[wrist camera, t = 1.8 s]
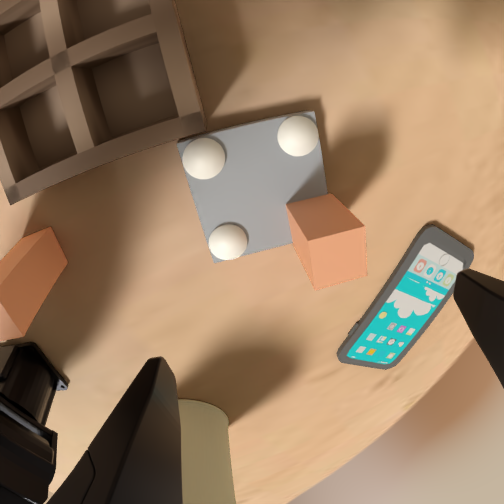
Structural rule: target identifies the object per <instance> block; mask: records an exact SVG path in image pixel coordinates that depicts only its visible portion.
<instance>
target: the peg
mask: <svg viewBox="0 0 504 504" xmlns="http://www.w3.org/2000/svg"><path fill="white" fill-rule="evenodd" d="M67 263H68V261H67V259H66V257H65V255H64V253H63V251H62V249H61V247H60V245H59V243H58V241H57V239H56V237H55V234H54V232H53V230H52V228H51V227H48V228H45V229H43V230H40V231H38V232H36V233H33V234H31V235H28V236H26V237H23V238H22V239H21V240H20V241H19V242H18V243H17V244H16V245H15V246H14V247H13V248H12V249H11V250H10V251H9V252H8V254H7V255H6V256H5V257H4V258H3V259H2V260H1V261H0V341H4V340H9V339H15V338H20V337H24V335H25V334H26V332H27V330H28V328H29V326H30V324H31V323H32V321H33V319H34V317H35V316H36V314H37V312H38V310H39V309H40V307H41V305H42V303H43V302H44V300H45V298H46V297H47V295H48V293H49V292H50V290H51V289H52V287H53V285H54V284H55V282H56V281H57V279H58V277H59V276H60V274H61V273H62V271H63V270H64V268H65V266H66V265H67Z"/></svg>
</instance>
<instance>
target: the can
mask: <svg viewBox="0 0 504 504" xmlns="http://www.w3.org/2000/svg"><path fill="white" fill-rule="evenodd" d="M178 405H179V413H180V422H181V462H182V495H183V504H236V500H235V493H234V485H233V477H232V468H231V458H230V448H229V436H228V425H229V420H228V417H227V416H226V414H225V413H224V412H223V411H222V410H221V409H219V408H218V407H216V406H214V405H211V404H208V403H205V402H201V401H196V400H188V399H178Z"/></svg>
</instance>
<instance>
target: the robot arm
mask: <svg viewBox="0 0 504 504" xmlns="http://www.w3.org/2000/svg"><path fill="white" fill-rule="evenodd" d="M453 296H454V300H455V302H456V304H457V305H458V307H459V309H460V311H461V313H462V315H463V317H464V319H465V321H466V323H467V325H468V327H469V329H470V331H471V332H472V334H473V336H474V338H475V340H476V341H477V343H478V345H479V346H480V348H481V350H482V351H483V353H484V355H485V356H486V358H487V360H488V361H489V363H490V365H491V367H492V368H493V370H494V372H495V374H496V375H497V377H498V379H499V381H500V382H501V384H502V386H503V388H504V281H502V280H499V279H496V278H493V277H491V276H488V275H485V274H483V273H480V272H477V271H474V270H471V269H465V270H462V271H460V272H458V273H457V275H456V280H455V286H454V292H453ZM67 388H68V384H67V383H66V382H65V380H64V379H63V378H62V377H61V376H60V374H59V373H58V372H57V371H56V370H55V368H54V367H53V366H52V365H51V363H50V362H49V361H48V360H47V358H46V357H45V356H44V354H43V353H42V352H41V350H40V349H39V348H38V346H37V345H36V344H34V343H32V342H30V343H24V344H18V345H11V346H5V347H1V348H0V504H43V503H44V502H45V501H46V500H47V498H48V487H49V485H50V483H51V481H52V479H53V477H54V474H55V470H56V454H57V436H58V433H56V432H55V431H53V430H50V429H48V428H47V427H45V425H46V421H47V418H48V415H49V411H50V408H51V405H52V402H53V399H54V396H55V393H56V391H59V390H67ZM46 504H183V495H182V462H181V422H180V413H179V405H178V396H177V386H176V379H175V376H174V374H173V372H172V370H171V369H170V367H169V365H168V364H167V362H166V360H165V359H164V358H163V357H154V358H150V359H148V360H147V362H146V363H145V364H144V366H143V367H142V369H141V370H140V372H139V373H138V375H137V376H136V378H135V379H134V380H133V382H132V383H131V385H130V386H129V388H128V389H127V391H126V392H125V394H124V395H123V396H122V398H121V399H120V401H119V402H118V404H117V405H116V407H115V408H114V410H113V411H112V413H111V414H110V416H109V417H108V419H107V420H106V422H105V423H104V425H103V426H102V428H101V429H100V431H99V432H98V433H97V435H96V436H95V438H94V439H93V441H92V442H91V444H90V446H89V447H88V450H86V451H85V453H84V454H83V456H82V457H81V459H80V460H79V462H78V463H77V465H76V466H75V468H74V469H73V470H72V472H71V473H70V475H69V476H68V477H67V478H66V480H65V481H64V482H63V484H62V485H61V486H60V487H59V489H58V490H57V491H56V492H55V493H54V495H53V496H52V497H51V499H50V500H49V501H48V502H47V503H46Z"/></svg>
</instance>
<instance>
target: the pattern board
mask: <svg viewBox="0 0 504 504" xmlns="http://www.w3.org/2000/svg"><path fill="white" fill-rule="evenodd" d="M177 147H178V151H179V154H180V157H181V161H182V164H183V167H184V171H185V174H186V177H187V180H188V184H189V187H190V190H191V193H192V196H193V200H194V203H195V206H196V209H197V212H198V215H199V219H200V222H201V225H202V228H203V231H204V234H205V237H206V240H207V243H208V246H209V249H210V252H211V255H212V258H213V261H214V263H217V262H221V261H225V260H232V259H235V258H238V257H240V256H244V255H248V254H252V253H256V252H260V251H264V250H268V249H271V248H275V247H279V246H283V245H287V244H291V243H293V246H294V248H295V250H296V252H297V255H298V257H299V259H300V261H301V263H302V265H303V267H304V269H305V271H306V273H307V275H308V277H309V279H310V281H311V283H312V285H313V287H314V289H315V290H319V289H322V288H326V287H329V286H333V285H336V284H340V283H343V282H347V281H350V280H354V279H357V278H360V277H364V276H367V256H366V234H365V226H364V225H363V224H362V223H361V222H360V221H359V220H358V219H357V218H356V217H355V216H354V215H353V214H352V213H351V212H350V211H349V210H348V209H347V208H346V207H345V206H344V205H343V204H342V203H341V202H340V201H339V200H338V199H337V198H336V197H335V196H334V195H333V194H332V193H331V194H328V192H327V185H326V178H325V172H324V165H323V159H322V152H321V146H320V140H319V134H318V129H317V123H316V118H315V112H314V111H311V110H307V111H302V112H296V113H291V114H286V115H281V116H276V117H271V118H266V119H262V120H257V121H253V122H248V123H244V124H240V125H236V126H232V127H228V128H224V129H220V130H216V131H212V132H209V133H205V134H201V135H198V136H194V137H191V138H187V139H184V140H181V141H178V142H177Z"/></svg>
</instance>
